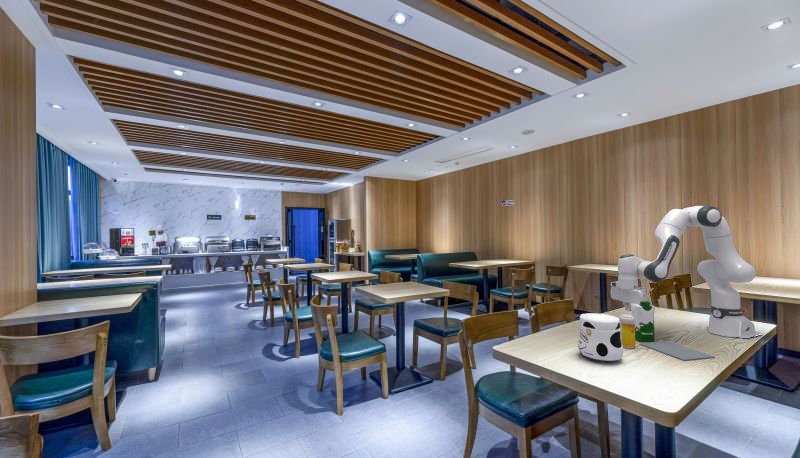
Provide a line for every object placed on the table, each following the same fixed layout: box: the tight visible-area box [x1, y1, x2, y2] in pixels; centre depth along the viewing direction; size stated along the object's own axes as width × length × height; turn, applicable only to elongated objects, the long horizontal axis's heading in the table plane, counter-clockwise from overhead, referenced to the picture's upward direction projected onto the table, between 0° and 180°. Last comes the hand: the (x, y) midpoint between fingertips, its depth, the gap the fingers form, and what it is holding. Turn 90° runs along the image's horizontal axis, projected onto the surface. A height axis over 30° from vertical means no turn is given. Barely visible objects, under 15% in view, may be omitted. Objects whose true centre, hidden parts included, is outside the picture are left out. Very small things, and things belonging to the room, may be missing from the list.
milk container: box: [577, 312, 624, 363], centre depth 151 cm, size 17×17×18 cm
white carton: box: [630, 300, 656, 343], centre depth 174 cm, size 9×9×20 cm
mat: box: [638, 340, 716, 362], centre depth 158 cm, size 16×22×1 cm
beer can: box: [619, 314, 636, 350], centre depth 164 cm, size 6×6×15 cm
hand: (628, 310), depth 182 cm, fingers closed
